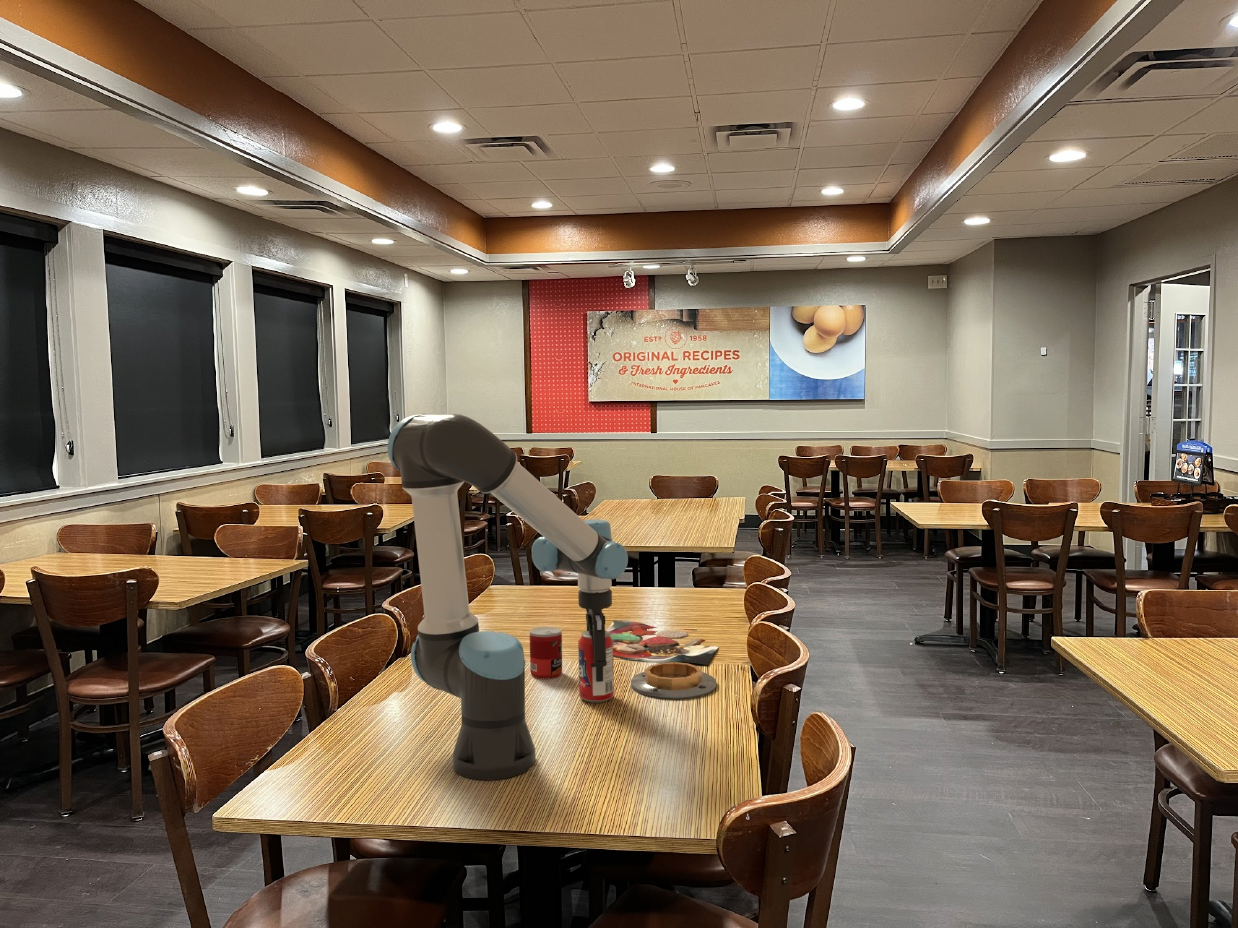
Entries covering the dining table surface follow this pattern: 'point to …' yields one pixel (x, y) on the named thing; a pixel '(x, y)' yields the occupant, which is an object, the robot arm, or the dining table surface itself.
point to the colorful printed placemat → (656, 645)
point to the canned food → (546, 652)
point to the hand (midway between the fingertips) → (596, 687)
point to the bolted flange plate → (673, 681)
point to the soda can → (587, 671)
